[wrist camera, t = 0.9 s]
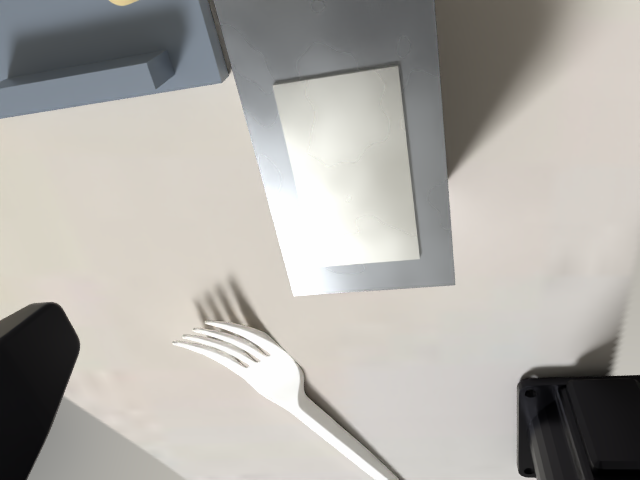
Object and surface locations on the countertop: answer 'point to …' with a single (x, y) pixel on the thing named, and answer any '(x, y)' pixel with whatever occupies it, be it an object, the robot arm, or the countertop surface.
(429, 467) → the countertop surface
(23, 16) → the tray
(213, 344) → the fork
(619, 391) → the robot arm
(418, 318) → the countertop surface
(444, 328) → the countertop surface
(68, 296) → the countertop surface
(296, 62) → the block
